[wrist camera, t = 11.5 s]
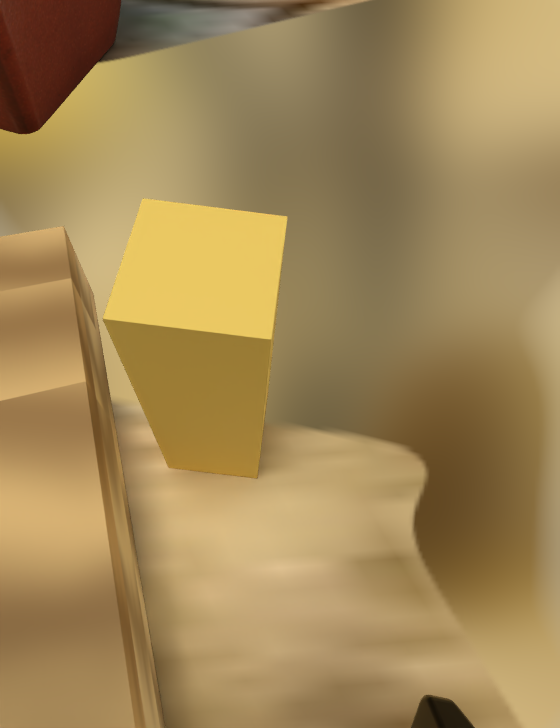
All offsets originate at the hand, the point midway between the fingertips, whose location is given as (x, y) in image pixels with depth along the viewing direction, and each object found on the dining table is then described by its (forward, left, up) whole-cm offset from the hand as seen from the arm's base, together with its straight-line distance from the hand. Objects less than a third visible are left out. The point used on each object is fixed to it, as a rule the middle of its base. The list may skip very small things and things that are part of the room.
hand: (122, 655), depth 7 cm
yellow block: (+6, +6, -13) cm, 16 cm away
